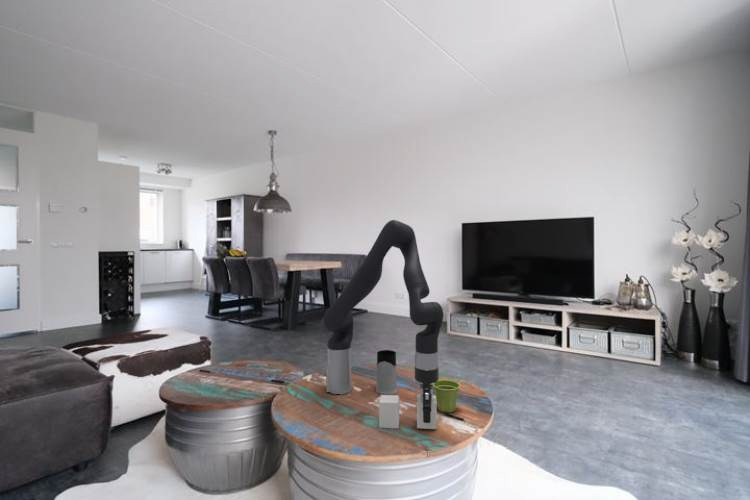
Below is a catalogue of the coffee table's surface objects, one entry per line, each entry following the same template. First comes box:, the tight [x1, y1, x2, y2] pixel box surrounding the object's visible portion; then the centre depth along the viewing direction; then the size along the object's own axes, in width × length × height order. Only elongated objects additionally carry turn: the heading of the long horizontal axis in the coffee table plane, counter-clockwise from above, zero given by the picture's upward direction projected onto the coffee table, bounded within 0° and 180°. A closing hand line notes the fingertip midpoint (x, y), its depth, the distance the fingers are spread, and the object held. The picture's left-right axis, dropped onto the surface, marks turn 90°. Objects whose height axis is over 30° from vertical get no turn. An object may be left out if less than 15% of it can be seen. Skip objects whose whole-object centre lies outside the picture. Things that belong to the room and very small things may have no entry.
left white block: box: [378, 394, 400, 429], centre depth 121 cm, size 6×6×8 cm
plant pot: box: [432, 379, 461, 413], centre depth 131 cm, size 9×9×9 cm
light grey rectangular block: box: [416, 394, 438, 430], centre depth 119 cm, size 6×6×8 cm
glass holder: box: [375, 349, 398, 395], centre depth 152 cm, size 9×14×15 cm, turn 166°
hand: (426, 417), depth 119 cm, fingers closed on light grey rectangular block, 6 cm apart
